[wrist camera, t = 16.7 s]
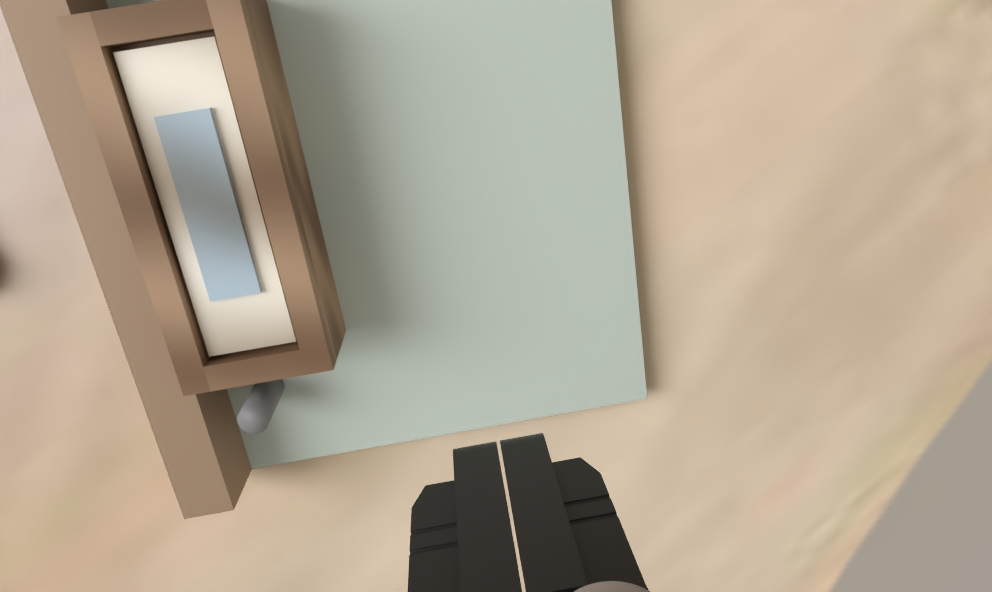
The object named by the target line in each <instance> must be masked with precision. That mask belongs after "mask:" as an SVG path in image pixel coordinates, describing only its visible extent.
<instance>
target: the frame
mask: <svg viewBox="0 0 992 592" xmlns="http://www.w3.org/2000/svg"><path fill="white" fill-rule="evenodd" d="M56 18H57V21H58V24H59V27H60V30H61V33H62V36H63V39H64V42H65V45H66V48H67V51H68V54H69V57H70V60H71V62H72V65H73V68H74V71H75V74H76V77H77V80H78V83H79V86H80V89H81V92H82V95H83V98H84V101H85V104H86V107H87V110H88V113H89V116H90V119H91V122H92V125H93V128H94V131H95V134H96V137H97V140H98V143H99V146H100V149H101V152H102V155H103V158H104V161H105V164H106V167H107V170H108V173H109V176H110V179H111V182H112V185H113V188H114V191H115V193H116V196H117V199H118V202H119V205H120V208H121V211H122V214H123V217H124V220H125V223H126V226H127V229H128V232H129V235H130V238H131V241H132V244H133V247H134V250H135V253H136V256H137V259H138V262H139V265H140V268H141V271H142V274H143V277H144V280H145V283H146V286H147V289H148V292H149V295H150V298H151V301H152V304H153V307H154V310H155V313H156V316H157V319H158V321H159V324H160V327H161V330H162V333H163V336H164V339H165V342H166V345H167V348H168V351H169V354H170V357H171V360H172V363H173V366H174V369H175V372H176V375H177V378H178V381H179V384H180V387H181V390H182V393H183V396H188V395H194V394H200V393H206V392H211V391H217V390H223V389H228V388H234V387H240V386H246V385H251V384H257V383H263V382H268V381H274V380H280V379H286V378H291V377H297V376H303V375H308V374H314V373H320V372H326V371H331V370H334V367H335V363H336V360H337V357H338V354H339V351H340V348H341V345H342V342H343V339H344V335H345V332H346V328H345V324H344V319H343V315H342V311H341V307H340V303H339V299H338V295H337V290H336V286H335V282H334V278H333V274H332V270H331V266H330V261H329V257H328V253H327V249H326V245H325V241H324V237H323V232H322V228H321V224H320V220H319V216H318V212H317V208H316V203H315V199H314V195H313V191H312V187H311V183H310V179H309V174H308V170H307V166H306V162H305V158H304V154H303V150H302V145H301V141H300V137H299V133H298V129H297V125H296V121H295V116H294V112H293V108H292V104H291V100H290V96H289V92H288V87H287V83H286V79H285V75H284V71H283V67H282V63H281V58H280V54H279V50H278V46H277V42H276V38H275V34H274V29H273V25H272V21H271V17H270V13H269V9H268V5H267V0H161V1H155V2H149V3H142V4H136V5H130V6H123V7H117V8H111V9H104V10H98V11H91V12H85V13H79V14H72V15H66V16H60V17H56Z"/></svg>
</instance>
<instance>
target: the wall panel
mask: <svg viewBox="0 0 992 592" xmlns="http://www.w3.org/2000/svg"><path fill="white" fill-rule="evenodd" d="M155 1H161V0H0V6H1V9H2V12H3V15H4V18H5V20H6V23H7V26H8V29H9V32H10V34H11V37H12V40H13V43H14V45H15V48H16V51H17V54H18V57H19V59H20V62H21V65H22V68H23V71H24V73H25V76H26V79H27V82H28V85H29V87H30V90H31V93H32V96H33V98H34V101H35V104H36V107H37V110H38V112H39V115H40V118H41V121H42V124H43V126H44V129H45V132H46V135H47V138H48V140H49V143H50V146H51V149H52V151H53V154H54V157H55V160H56V163H57V165H58V168H59V171H60V174H61V177H62V179H63V182H64V185H65V188H66V190H67V193H68V196H69V199H70V202H71V204H72V207H73V210H74V213H75V216H76V218H77V221H78V224H79V227H80V230H81V232H82V235H83V238H84V241H85V243H86V246H87V249H88V252H89V255H90V257H91V260H92V263H93V266H94V269H95V271H96V274H97V277H98V280H99V283H100V285H101V288H102V291H103V294H104V296H105V299H106V302H107V305H108V308H109V310H110V313H111V316H112V319H113V322H114V324H115V327H116V330H117V333H118V336H119V338H120V341H121V344H122V347H123V349H124V352H125V355H126V358H127V361H128V363H129V366H130V369H131V372H132V375H133V377H134V380H135V383H136V386H137V389H138V391H139V394H140V397H141V400H142V402H143V405H144V408H145V411H146V414H147V416H148V419H149V422H150V425H151V428H152V430H153V433H154V436H155V439H156V442H157V444H158V447H159V450H160V453H161V455H162V458H163V461H164V464H165V467H166V469H167V472H168V475H169V478H170V481H171V483H172V486H173V489H174V492H175V495H176V497H177V500H178V503H179V506H180V508H181V511H182V514H183V517H184V519H187V518H192V517H198V516H203V515H209V514H215V513H220V512H226V511H231V510H234V508H235V506H236V504H237V501H238V499H239V497H240V495H241V492H242V490H243V488H244V485H245V483H246V481H247V479H248V476H249V474H250V472H251V470H252V469H255V468H261V467H266V466H272V465H278V464H283V463H289V462H294V461H300V460H306V459H311V458H317V457H322V456H328V455H334V454H339V453H345V452H350V451H356V450H362V449H367V448H373V447H378V446H384V445H390V444H395V443H401V442H406V441H412V440H418V439H423V438H429V437H434V436H440V435H446V434H451V433H457V432H462V431H468V430H474V429H479V428H485V427H490V426H496V425H502V424H507V423H513V422H518V421H524V420H530V419H535V418H541V417H546V416H552V415H558V414H563V413H569V412H574V411H580V410H586V409H591V408H597V407H602V406H608V405H614V404H619V403H625V402H630V401H636V400H642V399H647V391H646V379H645V368H644V357H643V346H642V335H641V324H640V313H639V302H638V290H637V279H636V268H635V257H634V246H633V235H632V224H631V213H630V202H629V190H628V179H627V168H626V157H625V146H624V135H623V124H622V113H621V101H620V90H619V79H618V68H617V57H616V46H615V35H614V24H613V13H612V1H611V0H267V5H268V9H269V13H270V17H271V21H272V25H273V29H274V34H275V38H276V42H277V46H278V50H279V54H280V58H281V63H282V67H283V71H284V75H285V79H286V83H287V87H288V92H289V96H290V100H291V104H292V108H293V112H294V116H295V121H296V125H297V129H298V133H299V137H300V141H301V145H302V150H303V154H304V158H305V162H306V166H307V170H308V174H309V179H310V183H311V187H312V191H313V195H314V199H315V203H316V208H317V212H318V216H319V220H320V224H321V228H322V232H323V237H324V241H325V245H326V249H327V253H328V257H329V261H330V266H331V270H332V274H333V278H334V282H335V286H336V290H337V295H338V299H339V303H340V307H341V311H342V315H343V319H344V324H345V328H346V332H345V335H344V339H343V342H342V345H341V348H340V351H339V354H338V357H337V360H336V363H335V367H334V370H331V371H326V372H320V373H314V374H308V375H303V376H297V377H291V378H286V379H280V380H274V381H268V382H263V383H257V384H251V385H246V386H240V387H234V388H228V389H223V390H217V391H211V392H206V393H200V394H194V395H188V396H183V393H182V390H181V387H180V384H179V381H178V378H177V375H176V372H175V369H174V366H173V363H172V360H171V357H170V354H169V351H168V348H167V345H166V342H165V339H164V336H163V333H162V330H161V327H160V324H159V321H158V319H157V316H156V313H155V310H154V307H153V304H152V301H151V298H150V295H149V292H148V289H147V286H146V283H145V280H144V277H143V274H142V271H141V268H140V265H139V262H138V259H137V256H136V253H135V250H134V247H133V244H132V241H131V238H130V235H129V232H128V229H127V226H126V223H125V220H124V217H123V214H122V211H121V208H120V205H119V202H118V199H117V196H116V193H115V191H114V188H113V185H112V182H111V179H110V176H109V173H108V170H107V167H106V164H105V161H104V158H103V155H102V152H101V149H100V146H99V143H98V140H97V137H96V134H95V131H94V128H93V125H92V122H91V119H90V116H89V113H88V110H87V107H86V104H85V101H84V98H83V95H82V92H81V89H80V86H79V83H78V80H77V77H76V74H75V71H74V68H73V65H72V62H71V60H70V57H69V54H68V51H67V48H66V45H65V42H64V39H63V36H62V33H61V30H60V27H59V24H58V21H57V18H56V17H60V16H66V15H72V14H79V13H85V12H91V11H98V10H104V9H111V8H117V7H123V6H130V5H136V4H142V3H149V2H155Z"/></svg>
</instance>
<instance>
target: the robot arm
mask: <svg viewBox="0 0 992 592" xmlns="http://www.w3.org/2000/svg"><path fill="white" fill-rule="evenodd" d="M500 444H501V450H502V455H503V461H504V467H505V473H506V479H507V485H508V490H509V496H510V502H511V508H512V514H513V519H514V525H515V531H516V537H517V543H518V548H519V554H520V560H521V565H522V571H523V577H524V583H525V588H526V592H650V591H649V590H648V588H647V586H646V584H645V582H644V580H643V577H642V575H641V572H640V570H639V567H638V565H637V562H636V560H635V557H634V555H633V553H632V550H631V548H630V545H629V543H628V540H627V538H626V535H625V533H624V530H623V528H622V525H621V523H620V520H619V518H618V517H617V514H616V511H615V508H614V506H613V503H612V501H611V499H610V497H609V493H608V491H607V488H606V486H605V483H604V481H603V478H602V476H601V474H600V473H599V472H598V471H597V470H596V469H594V468H593V467H592V466H591V465H589V464H588V463H587V462H585V461H584V460H583V459H582V458H575V459H569V460H564V461H558V462H553V463H552V462H551V458H550V455H549V452H548V448H547V445H546V441H545V438H544V435H543V433H540V434H535V435H529V436H524V437H518V438H512V439H507V440H501V441H500ZM453 462H454V481H449V482H443V483H438V484H432V485H427V486H425V487H424V489H423V491H422V492H421V494H420V495H419V497H418V499H417V500H416V502H415V503H414V505H413V507H412V514H411V535H410V556H409V577H408V592H522V589H521V583H520V577H519V571H518V565H517V559H516V553H515V547H514V541H513V536H512V530H511V524H510V518H509V513H508V507H507V501H506V495H505V490H504V484H503V478H502V472H501V467H500V461H499V455H498V449H497V444H496V442H491V443H486V444H480V445H474V446H469V447H463V448H458V449H453Z"/></svg>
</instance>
